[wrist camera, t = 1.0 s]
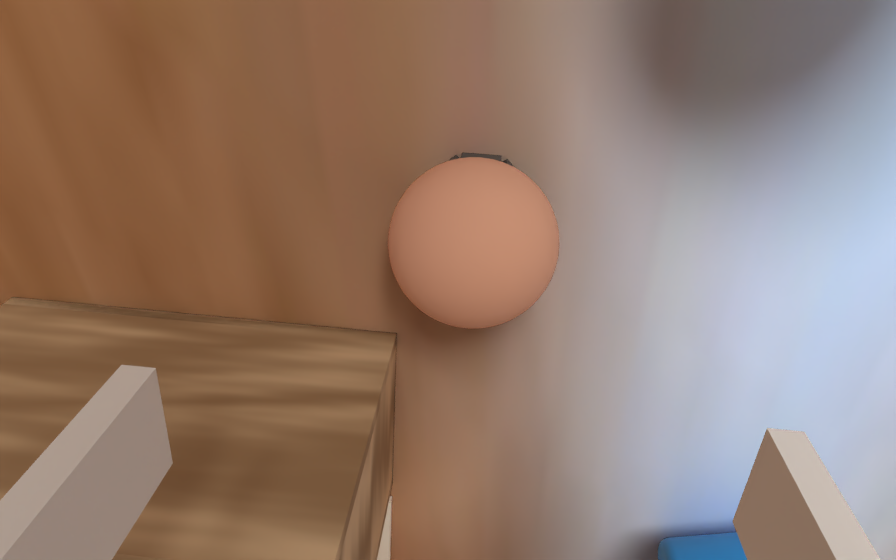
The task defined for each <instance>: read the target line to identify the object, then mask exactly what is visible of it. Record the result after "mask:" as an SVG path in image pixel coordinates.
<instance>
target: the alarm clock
mask: <svg viewBox="0 0 896 560" xmlns="http://www.w3.org/2000/svg"><path fill="white" fill-rule="evenodd" d="M658 560H747V558H746V555H745V553H744V550H743V547H742V545H741V542H740V540H739V537H738V534H737V532H732V533H720V534H707V535H695V536H682V537H670V538H665V539H663V540H662V541H661V542H660V544H659V547H658Z"/></svg>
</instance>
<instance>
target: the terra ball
mask: <svg viewBox="0 0 896 560" xmlns="http://www.w3.org/2000/svg"><path fill="white" fill-rule="evenodd" d="M388 252H389V259H390V264H391V267H392V270H393V273H394V276H395V278H396V280H397V282H398V284H399V286H400V288H401V289H402V291H403V292H404V294H405V295H406V296H407V297H408V299H409V300H410V301H411V302H412V303H413V304H414V305H415V306H416V307H417V308H418V309H420V310H421V311H422V312H423V313H425V314H426V315H428V316H429V317H431V318H433V319H435V320H437V321H439V322H442V323H444V324H447V325H451V326H455V327H460V328H471V329H477V328H487V327H492V326H496V325H500V324H503V323H505V322H508V321H510V320H512V319H514V318H515V317H517V316H519V315H520V314H522V313H523V312H525V311H526V310H527V309H529V308H530V307H531V306H532V305H533V304H534V303H535V302H536V301H537V300H538V299H539V297H540V296H541V295H542V293H543V292H544V291H545V289H546V288H547V286H548V284H549V282H550V281H551V279H552V276H553V273H554V271H555V268H556V264H557V260H558V255H559V230H558V226H557V221H556V218H555V215H554V212H553V210H552V207H551V205H550V203H549V201H548V199H547V197H546V196H545V195H544V193H543V192H542V191H541V189H540V188H539V187H538V186H537V185H536V184H535V183H534V182H533V181H532V180H531V179H530V178H529V177H528V176H527V175H525V174H524V173H523V172H521V171H520V170H518V169H516V168H515V167H513V166H511V165H508V164H506V163H504V162H501V161H497V160H494V159H489V158H482V157H466V158H458V159H454V160H450V161H447V162H444V163H441V164H439V165H437V166H435V167H433V168H431V169H429V170H428V171H426V172H425V173H424V174H422V175H421V176H420V177H418V178H417V179H416V180H415V181H414V182H413V183H412V184H411V185H410V186H409V187H408V189H407V190H406V191H405V192H404V194H403V195H402V197H401V199H400V200H399V202H398V204H397V206H396V208H395V210H394V213H393V215H392V219H391V223H390V227H389V234H388Z"/></svg>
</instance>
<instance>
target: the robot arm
mask: <svg viewBox="0 0 896 560" xmlns="http://www.w3.org/2000/svg"><path fill="white" fill-rule="evenodd" d="M172 464H173V461H172V455H171V450H170V444H169V439H168V433H167V428H166V422H165V416H164V411H163V405H162V400H161V394H160V389H159V383H158V377H157V372H156V368H151V367H140V366H130V365H121V366H120V367H119V368H118V369H117V370H116V371H115V373H114V374H113V375H112V376H111V377H110V378H109V379H108V380H107V381H106V383H105V384H104V385H103V386H102V387H101V388H100V389H99V390H98V392H97V393H96V394H95V395H94V396H93V397H92V398H91V399H90V401H89V402H88V403H87V404H86V405H85V406H84V407H83V408H82V409H81V411H80V412H79V413H78V414H77V415H76V416H75V417H74V418H73V420H72V421H71V422H70V423H69V424H68V425H67V426H66V427H65V428H64V430H63V431H62V432H61V433H60V434H59V435H58V436H57V437H56V439H55V440H54V441H53V442H52V443H51V444H50V445H49V446H48V448H47V449H46V450H45V451H44V452H43V453H42V454H41V455H40V456H39V458H38V459H37V460H36V461H35V462H34V463H33V464H32V465H31V467H30V468H29V469H28V470H27V471H26V472H25V473H24V474H23V475H22V477H21V478H20V479H19V480H18V481H17V482H16V483H15V484H14V486H13V487H12V488H11V489H10V490H9V491H8V492H7V493H6V495H5V496H4V497H3V498H2V499H1V500H0V560H112V559H113V557H114V556H115V554H116V552H117V551H118V549H119V548H120V546H121V544H122V543H123V541H124V540H125V538H126V537H127V535H128V533H129V532H130V530H131V529H132V527H133V525H134V524H135V522H136V521H137V519H138V518H139V516H140V514H141V513H142V511H143V510H144V508H145V506H146V505H147V503H148V502H149V500H150V498H151V497H152V495H153V494H154V492H155V491H156V489H157V487H158V486H159V484H160V483H161V481H162V479H163V478H164V476H165V475H166V473H167V472H168V470H169V468H170V467H171V465H172ZM733 524H734V526H735V529H736V532H737V534H738V537H739V540H740V542H741V545H742V547H743V550H744V553H745V555H746V558H747V560H880V558H879V556H878V554H877V553H876V551H875V549H874V548H873V546H872V544H871V543H870V541H869V539H868V538H867V536H866V534H865V533H864V531H863V529H862V528H861V526H860V524H859V523H858V521H857V519H856V518H855V516H854V514H853V513H852V511H851V509H850V508H849V506H848V504H847V503H846V501H845V499H844V498H843V496H842V494H841V492H840V491H839V489H838V487H837V486H836V484H835V482H834V481H833V479H832V477H831V476H830V474H829V472H828V471H827V469H826V467H825V466H824V464H823V462H822V461H821V459H820V457H819V456H818V454H817V452H816V451H815V449H814V447H813V446H812V444H811V442H810V441H809V439H808V437H807V435H806V434H805V432H802V431H791V430H781V429H771V428H767V430H766V432H765V435H764V438H763V441H762V443H761V446H760V449H759V451H758V454H757V457H756V459H755V462H754V465H753V468H752V470H751V473H750V476H749V478H748V481H747V484H746V486H745V489H744V492H743V495H742V497H741V500H740V503H739V505H738V508H737V511H736V513H735V516H734V519H733Z"/></svg>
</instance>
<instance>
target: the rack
mask: <svg viewBox="0 0 896 560" xmlns="http://www.w3.org/2000/svg"><path fill="white" fill-rule="evenodd" d="M396 338H397V333H388V332H377V331H367V330H356V329H345V328H335V327H324V326H314V325H303V324H292V323H282V322H271V321H260V320H250V319H239V318H229V317H218V316H207V315H197V314H186V313H175V312H165V311H154V310H144V309H133V308H122V307H112V306H101V305H91V304H80V303H69V302H59V301H48V300H37V299H27V298H16V297H11V298H10V299H9V300H7V301H6V302H5V303H3V304H2V305H1V306H0V500H1V499H2V498H3V497H4V496H5V495H6V493H7V492H8V491H9V490H10V489H11V488H12V487H13V486H14V484H15V483H16V482H17V481H18V480H19V479H20V478H21V477H22V475H23V474H24V473H25V472H26V471H27V470H28V469H29V468H30V467H31V465H32V464H33V463H34V462H35V461H36V460H37V459H38V458H39V456H40V455H41V454H42V453H43V452H44V451H45V450H46V449H47V448H48V446H49V445H50V444H51V443H52V442H53V441H54V440H55V439H56V437H57V436H58V435H59V434H60V433H61V432H62V431H63V430H64V428H65V427H66V426H67V425H68V424H69V423H70V422H71V421H72V420H73V418H74V417H75V416H76V415H77V414H78V413H79V412H80V411H81V409H82V408H83V407H84V406H85V405H86V404H87V403H88V402H89V401H90V399H91V398H92V397H93V396H94V395H95V394H96V393H97V392H98V390H99V389H100V388H101V387H102V386H103V385H104V384H105V383H106V381H107V380H108V379H109V378H110V377H111V376H112V375H113V374H114V373H115V371H116V370H117V369H118V368H119V367H120V366H121V365H130V366H140V367H151V368H156V372H157V377H158V383H159V389H160V394H161V400H162V405H163V411H164V416H165V422H166V428H167V433H168V439H169V444H170V450H171V455H172V461H173V464H172V465H171V467H170V468H169V470H168V472H167V473H166V475H165V476H164V478H163V479H162V481H161V483H160V484H159V486H158V487H157V489H156V491H155V492H154V494H153V495H152V497H151V498H150V500H149V502H148V503H147V505H146V506H145V508H144V510H143V511H142V513H141V514H140V516H139V518H138V519H137V521H136V522H135V524H134V525H133V527H132V529H131V530H130V532H129V533H128V535H127V537H126V538H125V540H124V541H123V543H122V544H121V546H120V548H119V549H118V551H117V552H116V554H115V556H114V557H113V559H112V560H377V557H378V552H379V547H380V542H381V537H382V532H383V527H384V523H385V518H386V513H387V508H388V503H389V498H390V493H391V489H392V484H393V449H394V412H395V375H396Z"/></svg>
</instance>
